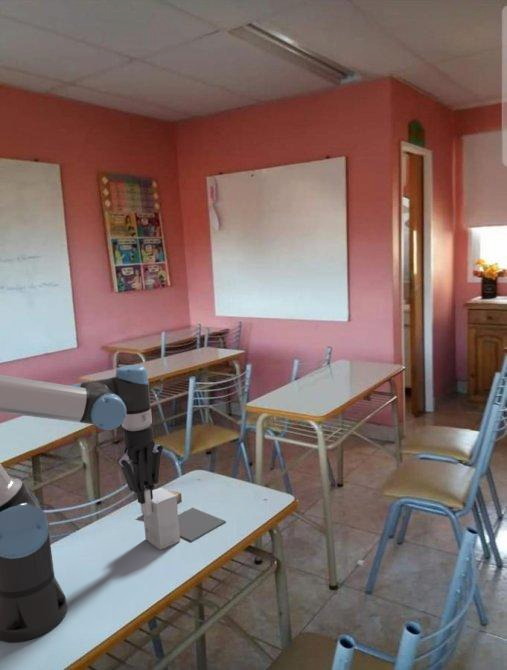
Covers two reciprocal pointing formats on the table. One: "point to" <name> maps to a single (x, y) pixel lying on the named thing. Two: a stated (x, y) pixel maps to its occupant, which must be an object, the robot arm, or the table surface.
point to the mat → (197, 524)
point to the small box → (162, 520)
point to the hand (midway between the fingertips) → (146, 512)
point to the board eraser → (178, 496)
